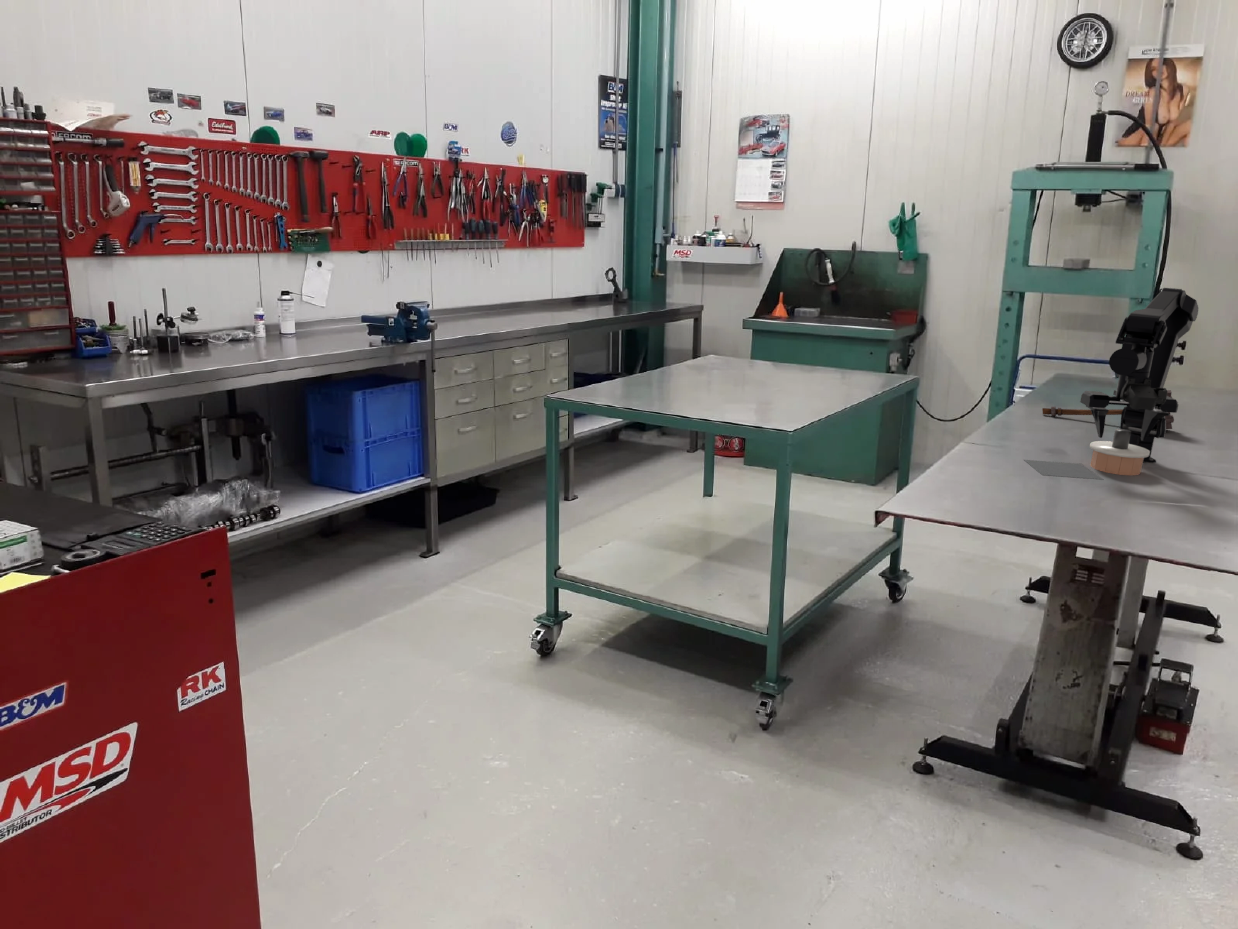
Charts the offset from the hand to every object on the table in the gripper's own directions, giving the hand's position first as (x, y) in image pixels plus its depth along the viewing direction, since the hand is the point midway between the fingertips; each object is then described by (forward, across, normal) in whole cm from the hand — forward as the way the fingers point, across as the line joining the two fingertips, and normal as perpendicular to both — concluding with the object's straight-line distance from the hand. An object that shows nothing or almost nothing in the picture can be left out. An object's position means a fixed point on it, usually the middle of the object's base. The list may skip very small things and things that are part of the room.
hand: (1121, 438), depth 205 cm
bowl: (+7, 0, 0) cm, 7 cm away
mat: (+7, -13, -4) cm, 15 cm away
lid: (+3, 0, 0) cm, 3 cm away
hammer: (+8, +19, +55) cm, 58 cm away
